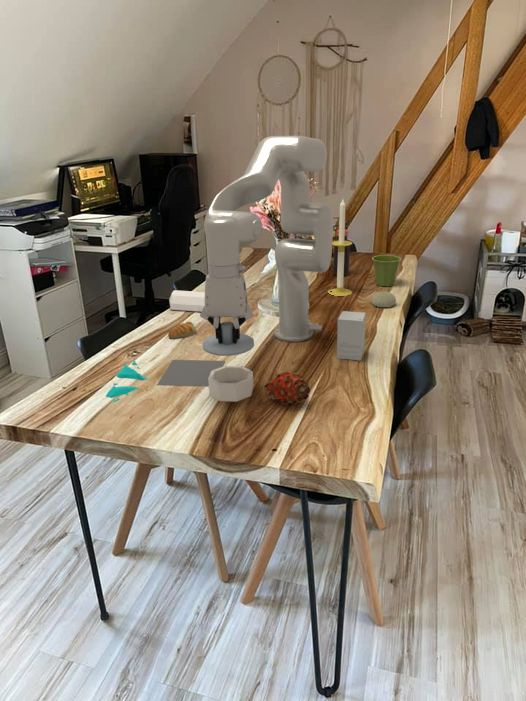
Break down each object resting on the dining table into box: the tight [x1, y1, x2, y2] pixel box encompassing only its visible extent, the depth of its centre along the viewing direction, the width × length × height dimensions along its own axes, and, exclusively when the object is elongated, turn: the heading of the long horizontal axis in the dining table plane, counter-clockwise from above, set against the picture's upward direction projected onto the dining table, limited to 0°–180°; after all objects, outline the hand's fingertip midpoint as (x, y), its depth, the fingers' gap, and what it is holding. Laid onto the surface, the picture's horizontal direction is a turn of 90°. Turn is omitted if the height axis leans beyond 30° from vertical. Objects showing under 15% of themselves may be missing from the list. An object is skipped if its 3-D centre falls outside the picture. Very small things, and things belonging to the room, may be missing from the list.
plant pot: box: [371, 254, 402, 287], centre depth 217 cm, size 12×12×11 cm
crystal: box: [168, 289, 205, 312], centre depth 196 cm, size 7×7×24 cm
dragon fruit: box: [263, 371, 311, 406], centre depth 130 cm, size 8×8×12 cm
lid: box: [202, 321, 255, 357], centre depth 130 cm, size 13×13×6 cm
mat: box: [156, 359, 226, 388], centre depth 147 cm, size 16×16×1 cm
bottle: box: [332, 229, 351, 277], centre depth 229 cm, size 7×7×20 cm
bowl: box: [208, 365, 254, 402], centre depth 136 cm, size 11×11×5 cm
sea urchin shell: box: [370, 290, 397, 308], centre depth 195 cm, size 9×8×8 cm
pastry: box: [168, 321, 198, 340], centre depth 174 cm, size 9×7×4 cm
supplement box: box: [336, 310, 367, 361], centre depth 153 cm, size 7×7×13 cm
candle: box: [327, 198, 353, 297], centre depth 202 cm, size 10×10×38 cm
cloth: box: [105, 360, 149, 404], centre depth 143 cm, size 26×14×2 cm, turn 168°
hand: (228, 340), depth 131 cm, fingers closed on lid, 3 cm apart
